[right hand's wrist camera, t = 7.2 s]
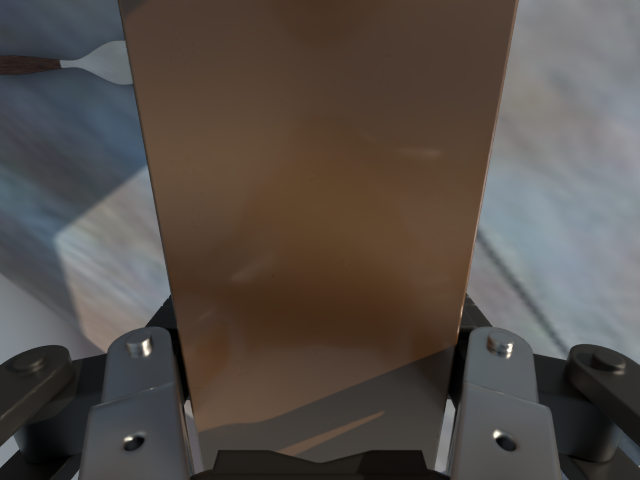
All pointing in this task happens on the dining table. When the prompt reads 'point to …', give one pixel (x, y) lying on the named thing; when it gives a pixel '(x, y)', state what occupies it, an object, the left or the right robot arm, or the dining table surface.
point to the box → (318, 208)
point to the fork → (77, 63)
